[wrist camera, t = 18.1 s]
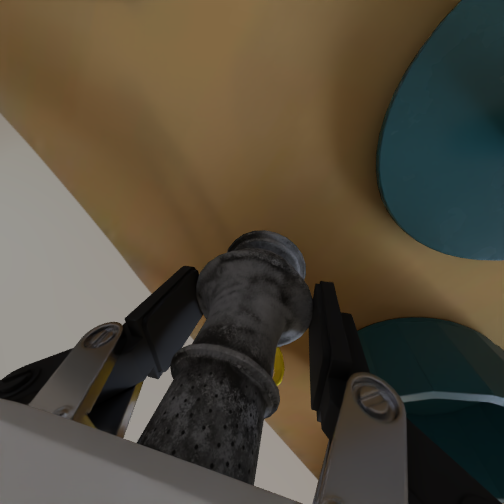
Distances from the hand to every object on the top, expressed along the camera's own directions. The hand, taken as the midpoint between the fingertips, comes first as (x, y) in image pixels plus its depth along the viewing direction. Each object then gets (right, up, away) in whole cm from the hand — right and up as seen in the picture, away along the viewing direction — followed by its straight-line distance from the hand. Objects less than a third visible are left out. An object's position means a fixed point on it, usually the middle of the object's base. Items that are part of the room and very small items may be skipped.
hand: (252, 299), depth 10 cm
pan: (+15, -9, +9) cm, 20 cm away
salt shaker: (+1, +1, +3) cm, 3 cm away
